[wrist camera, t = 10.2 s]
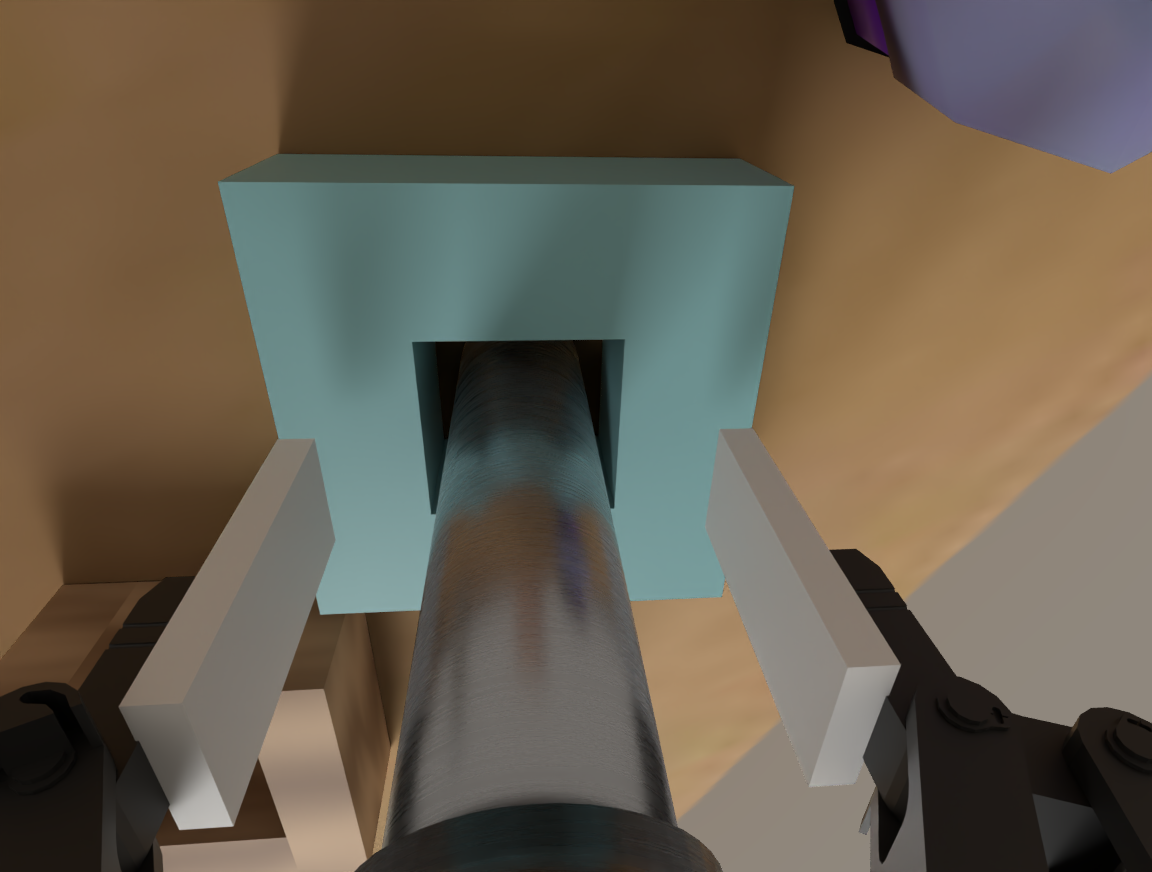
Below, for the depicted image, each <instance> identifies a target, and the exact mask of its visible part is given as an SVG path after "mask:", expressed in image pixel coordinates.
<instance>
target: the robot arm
mask: <svg viewBox="0 0 1152 872" xmlns="http://www.w3.org/2000/svg"><path fill="white" fill-rule="evenodd" d="M705 528H706V531H707V534H708V536H709V539H710V541H711V544H712V546H713V549H714V551H715V554H716V556H717V559H718V561H719V564H720V566H721V569H722V571H723V574H724V576H725V579H726V581H727V584H728V586H729V589H730V591H731V594H732V596H733V599H734V601H735V604H736V606H737V609H738V611H739V614H740V616H741V619H742V621H743V624H744V626H745V629H746V631H747V634H748V636H749V639H750V641H751V644H752V646H753V649H754V652H755V654H756V657H757V659H758V662H759V664H760V667H761V669H762V672H763V674H764V677H765V679H766V682H767V684H768V687H769V689H770V692H771V694H772V697H773V699H774V702H775V704H776V707H777V709H778V712H779V714H780V717H781V719H782V722H783V724H784V727H785V729H786V732H787V734H788V737H789V739H790V742H791V744H792V747H793V749H794V752H795V754H796V757H797V759H798V762H799V764H800V767H801V769H802V772H803V775H804V777H805V780H806V782H807V785H808V787H817V786H833V785H847V784H855V782H856V780H857V777H858V775H859V772H860V769H861V767H862V764H863V762H865V764H866V766H867V768H868V770H869V772H870V774H871V776H872V778H873V780H874V782H875V784H876V787H875V790H874V792H873V794H872V797H871V799H870V802H869V804H868V807H867V809H866V812H865V814H864V817H863V819H862V822H861V826H860V830H859V832H860V833H863V834H865V835H866V834H867V832H868V830H869V827H870V825H871V839H870V842H871V843H870V844H871V850H870V851H871V853H870V860H871V861H870V867H871V869H870V872H1152V723H1150V722H1148V721H1146V720H1144V719H1141V718H1139V717H1137V716H1135V715H1133V714H1131V713H1129V712H1125V711H1121V710H1117V709H1113V708H1108V707H1104V708H1090V709H1089V710H1087V711H1086V712H1084V713H1082V714H1081V715H1080V716H1079V718H1078V719H1077V721H1076V722H1075V724H1074V726H1073V727H1069V726H1064V725H1060V724H1055V723H1051V722H1046V721H1041V720H1037V719H1032V718H1028V717H1023V716H1020V715H1016V714H1013V713H1011V712H1010V710H1009V709H1008V708H1007V707H1006V706H1005V705H1004V704H1003V703H1002V702H1001V700H1000V699H999V698H998V697H997V696H995V695H994V694H992V693H991V692H989V691H988V690H986V689H985V688H984V687H982V686H981V685H979V684H976V683H974V682H971V681H969V680H966V679H964V678H962V677H957V676H956V675H955V673H954V672H953V671H952V669H951V668H950V666H949V665H948V664H947V662H946V661H945V659H944V658H943V656H942V655H941V654H940V652H939V651H938V649H937V648H936V647H935V645H934V644H933V642H932V641H931V639H930V638H929V636H928V635H927V634H926V632H925V631H924V629H923V628H922V626H921V625H920V624H919V622H918V621H917V619H916V618H915V616H914V615H913V614H912V612H911V611H910V610H907V605H906V604H905V602H904V601H903V599H902V598H901V597H900V595H899V594H898V592H895V590H894V589H895V588H894V587H893V585H892V584H891V582H890V581H889V579H888V578H887V577H886V575H885V574H884V572H883V571H882V569H881V568H880V567H879V566H878V565H877V564H875V563H874V562H873V561H871V560H870V559H869V558H867V557H866V556H865V555H864V554H862V553H861V552H860V551H858V550H857V549H840V550H829V549H828V547H827V546H826V544H825V543H824V541H823V539H822V538H821V536H820V535H819V533H818V531H817V530H816V528H815V527H814V525H813V523H812V522H811V520H810V519H809V517H808V515H807V514H806V512H805V511H804V509H803V507H802V506H801V504H800V503H799V501H798V500H797V498H796V496H795V495H794V493H793V492H792V490H791V488H790V487H789V485H788V484H787V482H786V480H785V479H784V477H783V476H782V474H781V472H780V471H779V469H778V468H777V466H776V464H775V463H774V461H773V460H772V458H771V456H770V455H769V453H768V452H767V450H766V448H765V447H764V445H763V444H762V442H761V440H760V439H759V437H758V436H757V434H756V432H755V431H754V429H753V428H746V429H720V430H719V436H718V443H717V450H716V456H715V463H714V470H713V477H712V483H711V490H710V497H709V503H708V510H707V517H706V524H705ZM334 543H335V535H334V530H333V525H332V521H331V516H330V511H329V506H328V501H327V496H326V491H325V487H324V482H323V477H322V472H321V467H320V462H319V457H318V452H317V448H316V443H315V438H313V439H277V441H276V443H275V444H274V446H273V448H272V449H271V451H270V453H269V454H268V456H267V458H266V459H265V461H264V463H263V464H262V466H261V468H260V470H259V471H258V473H257V475H256V476H255V478H254V480H253V481H252V483H251V485H250V486H249V488H248V490H247V491H246V493H245V495H244V496H243V498H242V500H241V502H240V503H239V505H238V507H237V508H236V510H235V512H234V513H233V515H232V517H231V518H230V520H229V522H228V523H227V525H226V527H225V528H224V530H223V532H222V534H221V535H220V537H219V539H218V540H217V542H216V544H215V545H214V547H213V549H212V550H211V552H210V554H209V555H208V557H207V559H206V560H205V562H204V564H203V566H202V567H201V569H200V571H199V572H198V574H197V576H188V577H166V578H165V579H163V580H162V581H161V582H160V583H158V584H157V585H156V586H155V587H154V588H152V589H151V590H150V591H149V592H147V593H146V594H145V595H144V596H142V597H141V598H140V599H139V600H138V602H137V603H136V605H135V606H134V608H133V609H132V611H131V612H130V614H129V615H128V617H127V618H126V619H125V621H124V622H123V627H122V629H119V630H118V631H117V633H116V634H115V636H114V637H113V639H112V640H111V642H110V643H109V649H105V651H104V652H103V654H102V655H101V657H100V658H99V660H98V661H97V663H96V664H95V666H94V667H93V669H92V670H91V672H90V673H89V675H88V676H87V678H86V679H85V681H84V682H83V683H82V685H81V686H80V688H79V689H78V690H76V689H75V688H73V687H71V686H70V685H68V684H66V683H58V682H42V683H38V684H33V685H29V686H24V687H21V688H19V689H16V690H14V691H12V692H10V693H7V694H5V695H3V696H1V697H0V872H163V856H162V852H161V849H160V846H159V843H158V841H157V839H156V835H157V832H158V830H159V828H160V826H161V823H162V821H163V819H164V817H165V815H166V812H167V810H168V808H169V810H170V812H171V814H172V816H173V818H174V820H175V822H176V824H177V826H178V828H179V830H188V829H203V828H217V827H232V826H234V824H235V821H236V818H237V815H238V812H239V810H240V807H241V804H242V801H243V798H244V796H245V793H246V790H247V787H248V784H249V781H250V779H251V776H252V773H253V770H254V767H255V765H256V762H257V759H258V756H259V753H260V751H261V748H262V745H263V742H264V739H265V737H266V734H267V731H268V728H269V725H270V723H271V720H272V717H273V714H274V711H275V709H276V706H277V703H278V700H279V697H280V694H281V692H282V689H283V686H284V683H285V680H286V678H287V675H288V672H289V669H290V666H291V664H292V661H293V658H294V655H295V652H296V650H297V647H298V644H299V641H300V638H301V636H302V633H303V630H304V627H305V624H306V622H307V619H308V616H309V613H310V610H311V608H312V605H313V602H314V599H315V596H316V593H317V591H318V588H319V585H320V582H321V579H322V577H323V574H324V571H325V568H326V565H327V563H328V560H329V557H330V554H331V551H332V549H333V546H334Z"/></svg>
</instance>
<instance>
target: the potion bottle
mask: <svg viewBox="0 0 1152 872" xmlns="http://www.w3.org/2000/svg"><path fill="white" fill-rule="evenodd" d="M834 3H835V7H836V10H837V13H838V16H839V20H840V23H841V26H842V30H843V33H844V36H845V39H846V43H849V44H852V45H855V46H858V47H860V48H863V49H866V50H869V51H872V52H875V53H878V54H881V55H884V56H887V57H889V58H890V63H891V67H892V71H893V76H894V78H895V79H897V80H898V81H899V82H901V83H902V84H904V85H905V86H906V87H908V88H909V89H910V90H912V91H913V92H914V93H916V94H917V95H919V96H920V97H921V98H923V99H924V100H925V101H927V102H928V103H929V104H931V105H932V106H934V107H935V108H936V109H938V110H939V111H940V112H942V113H943V114H944V115H946V116H947V117H949V118H950V119H951V120H953V121H954V122H956V123H959V124H962V125H965V126H968V127H971V128H974V129H977V130H980V131H983V132H986V133H989V134H992V135H995V136H998V137H1001V138H1004V139H1008V140H1011V141H1014V142H1017V143H1020V144H1023V145H1026V146H1029V147H1032V148H1035V149H1038V150H1041V151H1044V152H1047V153H1050V154H1053V155H1056V156H1059V157H1062V158H1065V159H1068V160H1072V161H1075V162H1078V163H1081V164H1084V165H1087V166H1090V167H1093V168H1096V169H1099V170H1102V171H1105V172H1108V173H1113V172H1115V171H1117V170H1118V169H1120V168H1122V167H1124V166H1126V165H1128V164H1130V163H1132V162H1133V161H1135V160H1137V159H1139V158H1141V157H1143V156H1145V155H1147V154H1148V153H1150V152H1152V0H834Z"/></svg>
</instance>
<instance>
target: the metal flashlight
mask: <svg viewBox="0 0 1152 872" xmlns="http://www.w3.org/2000/svg"><path fill="white" fill-rule="evenodd" d="M354 872H723V871H722V868H721V866H720V863H719V862H718V861H717V859H716V858H715V857H714V855H713V853H712V852H711V851H710V850H709V849H708V848H707V847H706V846H705V845H704V844H702V843H701V842H700V841H699V840H698V839H696V838H695V837H693V836H692V835H690V834H689V833H687V832H686V831H684V830H682V829H680V828H678V826H677V821H676V817H675V812H674V807H673V802H672V798H671V793H670V788H669V783H668V779H667V774H666V769H665V765H664V760H663V755H662V750H661V746H660V741H659V736H658V731H657V727H656V722H655V717H654V713H653V708H652V703H651V698H650V694H649V689H648V684H647V679H646V675H645V670H644V665H643V661H642V656H641V651H640V646H639V642H638V637H637V632H636V627H635V623H634V618H633V613H632V609H631V604H630V599H629V594H628V590H627V585H626V580H625V575H624V571H623V566H622V561H621V557H620V552H619V547H618V542H617V538H616V533H615V528H614V523H613V519H612V514H611V509H610V505H609V500H608V495H607V490H606V486H605V481H604V476H603V471H602V467H601V462H600V457H599V453H598V448H597V443H596V438H595V434H594V429H593V424H592V419H591V415H590V410H589V405H588V401H587V396H586V391H585V386H584V382H583V377H582V372H581V367H580V363H579V358H578V353H577V350H576V347H575V344H574V342H573V340H519V341H466V343H465V346H464V348H463V352H462V356H461V362H460V369H459V375H458V381H457V387H456V393H455V399H454V406H453V412H452V418H451V424H450V430H449V436H448V443H447V449H446V455H445V461H444V467H443V474H442V480H441V486H440V492H439V498H438V504H437V511H436V517H435V523H434V529H433V535H432V541H431V548H430V554H429V560H428V566H427V572H426V579H425V585H424V591H423V597H422V603H421V609H420V616H419V622H418V628H417V634H416V640H415V646H414V653H413V659H412V665H411V671H410V677H409V684H408V690H407V696H406V702H405V708H404V714H403V721H402V727H401V733H400V739H399V745H398V751H397V758H396V764H395V770H394V776H393V782H392V789H391V795H390V801H389V807H388V813H387V819H386V826H385V832H384V838H383V844H382V849H381V850H380V851H378V852H376V853H375V854H374V855H372V856H371V857H370V858H369V859H368V860H366V861H365V862H364V863H363V864H361V865H360V866H359V867H358V868H357V869H356V870H355V871H354Z"/></svg>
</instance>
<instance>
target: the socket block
mask: <svg viewBox="0 0 1152 872" xmlns="http://www.w3.org/2000/svg"><path fill="white" fill-rule="evenodd" d="M218 185H219V189H220V193H221V197H222V202H223V206H224V210H225V214H226V218H227V223H228V227H229V231H230V235H231V240H232V244H233V248H234V252H235V256H236V261H237V265H238V269H239V273H240V278H241V282H242V286H243V290H244V294H245V299H246V303H247V307H248V311H249V316H250V320H251V324H252V328H253V332H254V337H255V341H256V345H257V349H258V354H259V358H260V362H261V366H262V370H263V375H264V379H265V383H266V387H267V392H268V396H269V400H270V404H271V408H272V413H273V417H274V421H275V425H276V430H277V434H278V438H279V439H313V438H315V443H316V448H317V452H318V457H319V462H320V467H321V472H322V477H323V482H324V487H325V491H326V496H327V501H328V506H329V511H330V516H331V521H332V525H333V530H334V535H335V543H334V546H333V549H332V551H331V554H330V557H329V560H328V563H327V565H326V568H325V571H324V574H323V577H322V579H321V582H320V585H319V588H318V591H317V593H316V598H317V603H318V607H319V611H320V615H323V614H346V613H369V612H391V611H414V610H420V609H421V603H422V597H423V591H424V585H425V579H426V572H427V566H428V560H429V554H430V548H431V541H432V535H433V529H434V523H435V517H436V511H437V504H438V498H439V492H440V486H441V480H442V474H443V467H444V461H445V455H446V449H447V443H448V439H444V433H443V422H442V412H441V401H440V390H439V379H438V368H437V357H436V346H435V341H519V340H603V342H602V365H601V388H600V411H599V434H598V436H595V438H596V443H597V448H598V453H599V457H600V462H601V467H602V471H603V476H604V481H605V486H606V490H607V495H608V500H609V505H610V509H611V514H612V519H613V523H614V528H615V533H616V538H617V542H618V547H619V552H620V557H621V561H622V566H623V571H624V575H625V580H626V585H627V590H628V594H629V599H630V601H642V600H664V599H687V598H710V597H722V593H723V587H724V582H725V576H724V574H723V571H722V569H721V566H720V564H719V561H718V559H717V556H716V554H715V551H714V549H713V546H712V544H711V541H710V539H709V536H708V534H707V531H706V528H705V524H706V517H707V510H708V503H709V497H710V490H711V483H712V477H713V470H714V463H715V456H716V450H717V443H718V436H719V430H720V429H746V428H752V423H753V417H754V412H755V406H756V400H757V395H758V389H759V383H760V378H761V372H762V366H763V361H764V355H765V349H766V344H767V338H768V332H769V327H770V321H771V315H772V310H773V304H774V298H775V293H776V287H777V281H778V276H779V270H780V264H781V259H782V253H783V248H784V242H785V236H786V231H787V225H788V219H789V214H790V208H791V202H792V197H793V191H794V186H793V185H791V184H789V183H787V182H785V181H783V180H782V179H780V178H778V177H776V176H774V175H772V174H770V173H768V172H766V171H764V170H762V169H760V168H758V167H756V166H754V165H752V164H750V163H748V162H746V161H744V160H742V159H724V158H628V157H532V156H437V155H341V154H276V155H274V156H272V157H270V158H268V159H266V160H263V161H261V162H259V163H257V164H255V165H253V166H251V167H249V168H246V169H244V170H242V171H240V172H238V173H236V174H234V175H231V176H229V177H227V178H225V179H223V180H221V181H219V182H218Z"/></svg>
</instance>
